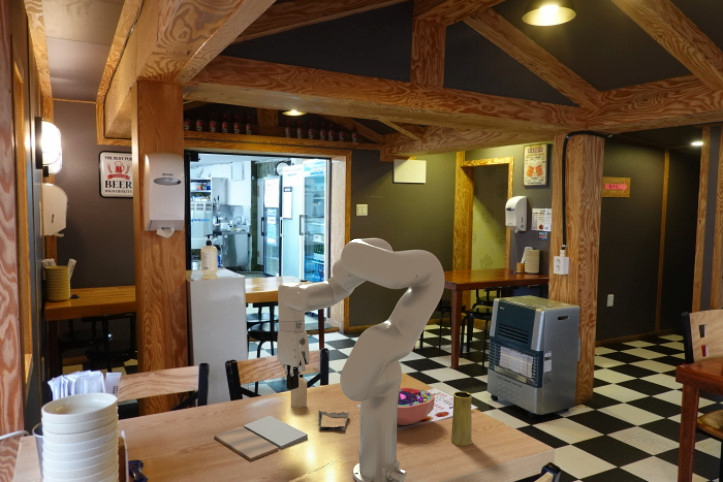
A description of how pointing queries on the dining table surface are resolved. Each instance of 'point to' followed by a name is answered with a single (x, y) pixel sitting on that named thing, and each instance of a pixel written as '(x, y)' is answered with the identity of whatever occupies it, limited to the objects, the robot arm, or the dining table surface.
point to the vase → (462, 419)
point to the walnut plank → (246, 443)
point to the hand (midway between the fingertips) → (292, 388)
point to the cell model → (413, 405)
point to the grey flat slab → (276, 432)
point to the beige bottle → (299, 394)
